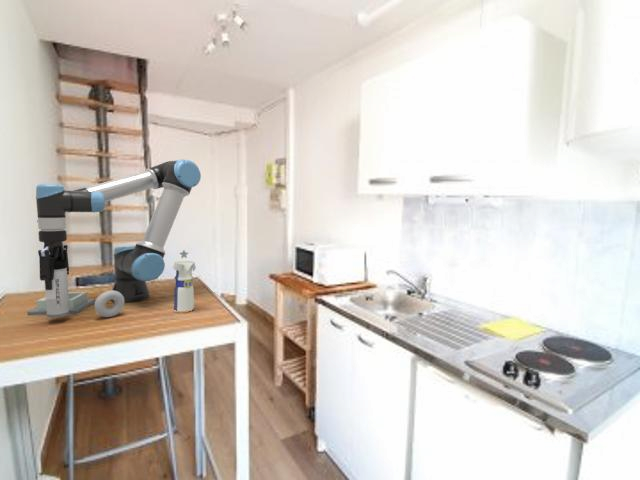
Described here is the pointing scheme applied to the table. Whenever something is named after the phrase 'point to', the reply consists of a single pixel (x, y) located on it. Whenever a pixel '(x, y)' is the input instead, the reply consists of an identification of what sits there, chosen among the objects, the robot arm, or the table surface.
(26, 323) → the table surface
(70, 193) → the robot arm
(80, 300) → the dock
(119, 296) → the donut
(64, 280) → the travel mug
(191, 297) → the water bottle
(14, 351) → the table surface
